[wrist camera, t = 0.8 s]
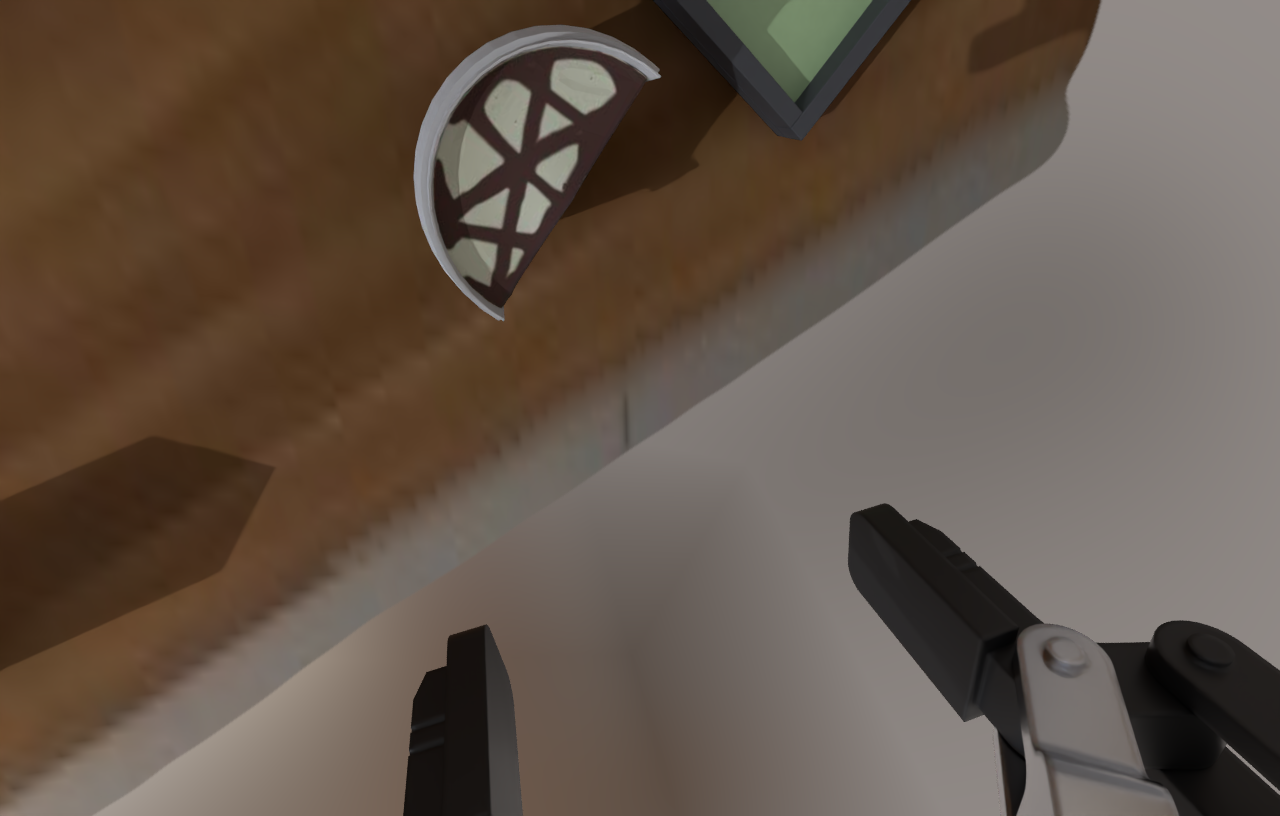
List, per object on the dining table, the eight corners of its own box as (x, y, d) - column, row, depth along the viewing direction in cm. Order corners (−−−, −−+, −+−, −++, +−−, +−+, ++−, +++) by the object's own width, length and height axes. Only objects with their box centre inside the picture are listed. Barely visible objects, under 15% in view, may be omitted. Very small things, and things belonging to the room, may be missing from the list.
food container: (500, -29, 27) (527, -75, 18) (606, 65, 30) (669, 62, 22) (375, 202, 30) (350, 252, 22) (483, 266, 33) (497, 331, 25)
